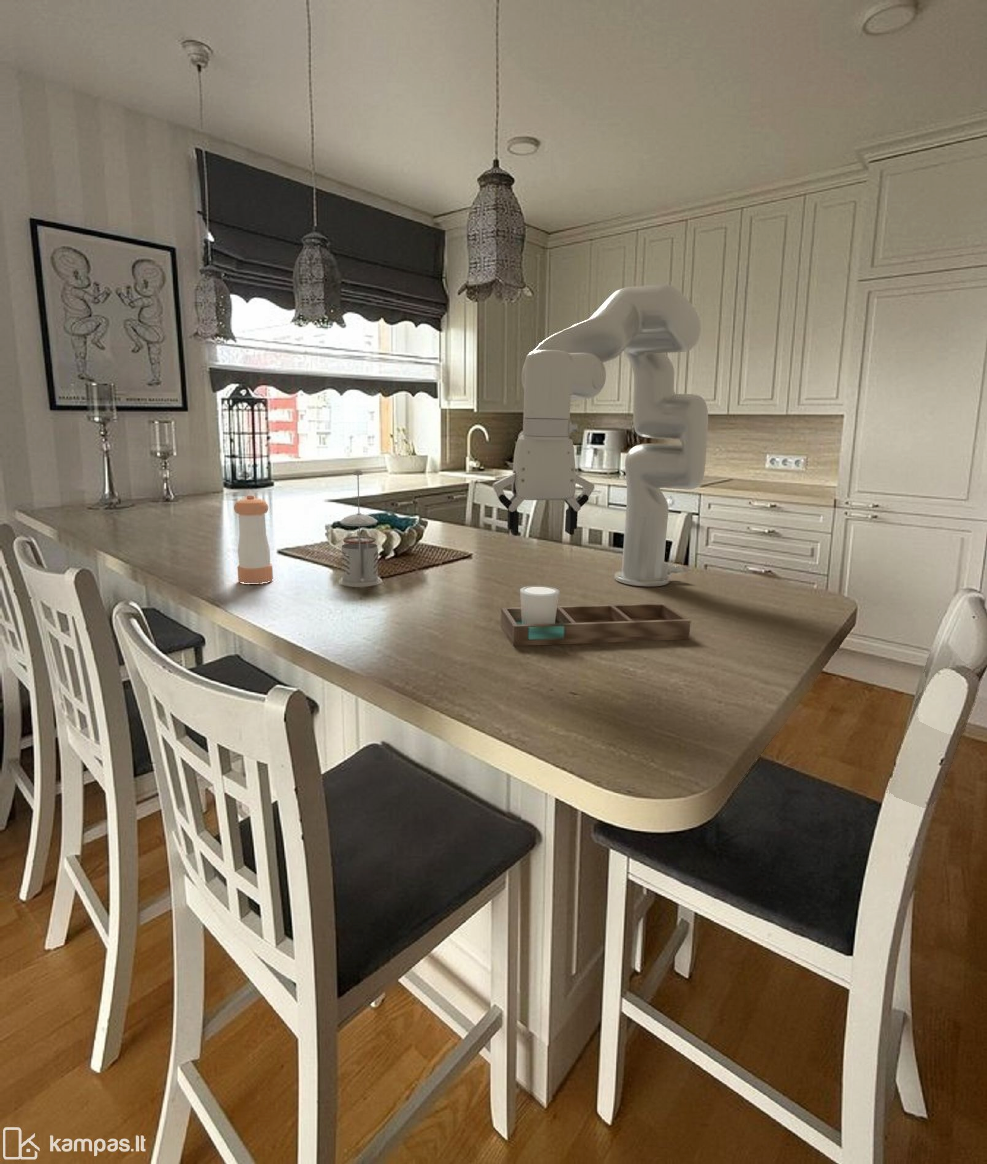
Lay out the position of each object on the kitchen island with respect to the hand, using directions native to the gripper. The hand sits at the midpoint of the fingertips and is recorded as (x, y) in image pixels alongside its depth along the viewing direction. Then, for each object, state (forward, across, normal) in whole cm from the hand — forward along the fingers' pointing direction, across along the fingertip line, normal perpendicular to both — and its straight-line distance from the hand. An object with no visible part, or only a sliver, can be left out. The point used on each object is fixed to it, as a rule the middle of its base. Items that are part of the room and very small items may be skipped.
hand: (542, 533), depth 114 cm
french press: (+18, +31, -40) cm, 54 cm away
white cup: (+17, 0, 0) cm, 17 cm away
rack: (+18, -10, 0) cm, 21 cm away
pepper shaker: (+18, +54, -43) cm, 71 cm away
